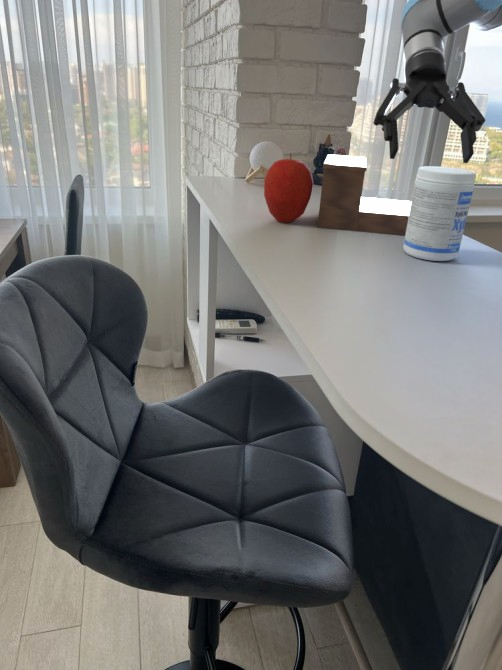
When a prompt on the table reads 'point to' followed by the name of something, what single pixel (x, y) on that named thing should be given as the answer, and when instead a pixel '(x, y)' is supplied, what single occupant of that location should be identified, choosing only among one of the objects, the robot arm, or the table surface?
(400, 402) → the table surface
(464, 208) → the supplement tub
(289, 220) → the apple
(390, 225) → the step shelf
